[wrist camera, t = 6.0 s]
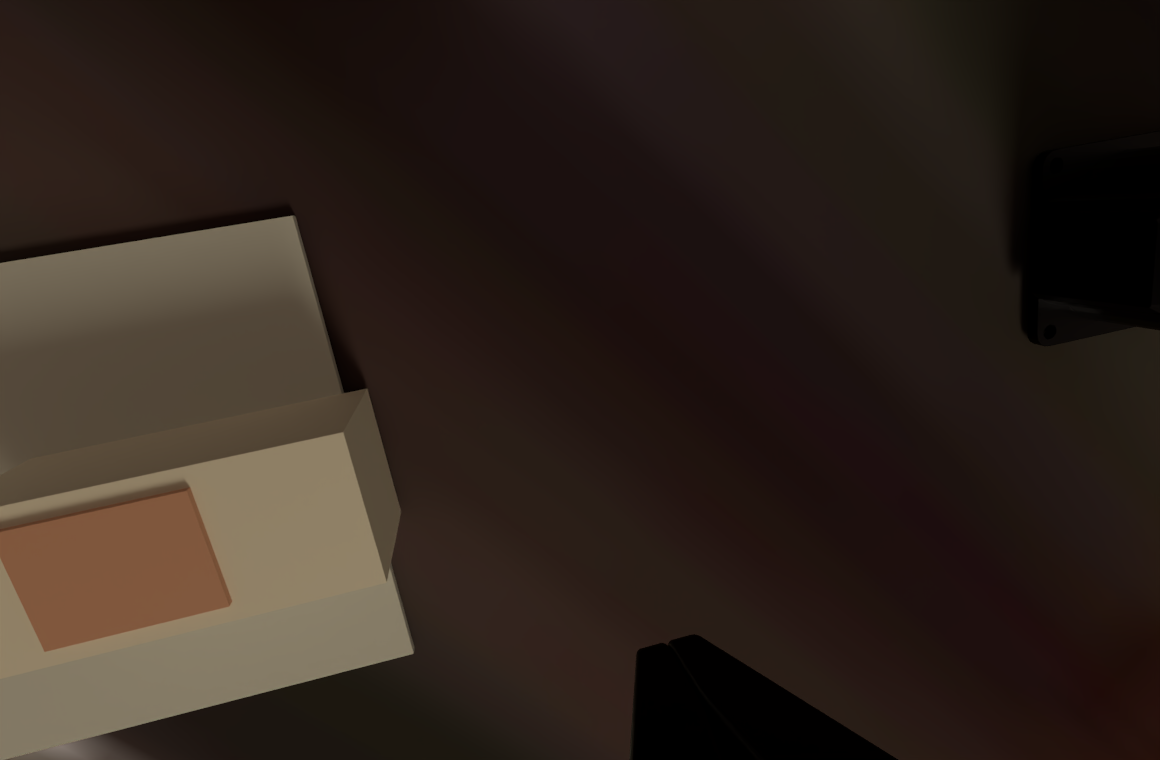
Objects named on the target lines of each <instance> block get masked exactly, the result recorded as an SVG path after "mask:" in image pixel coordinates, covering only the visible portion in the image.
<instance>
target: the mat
mask: <svg viewBox="0 0 1160 760" xmlns="http://www.w3.org/2000/svg"><path fill="white" fill-rule="evenodd" d="M343 393H344V391H343V387H342V384H341V380H340V376H339V373H338V369H337V366H336V362H335V358H334V355H333V351H332V347H331V344H330V340H329V337H328V333H327V329H326V326H325V322H324V318H323V315H322V311H321V308H320V304H319V300H318V297H317V293H316V289H315V286H314V282H313V279H312V275H311V271H310V268H309V264H308V260H307V257H306V253H305V250H304V246H303V242H302V239H301V235H300V231H299V228H298V224H297V221H296V217H295V216H287V217H281V218H275V219H269V220H263V221H256V222H250V223H244V224H238V225H232V226H226V227H219V228H213V229H207V230H201V231H195V232H189V233H182V234H176V235H170V236H164V237H158V238H152V239H145V240H139V241H133V242H127V243H121V244H115V245H109V246H102V247H96V248H90V249H84V250H78V251H72V252H65V253H59V254H53V255H47V256H41V257H35V258H28V259H22V260H16V261H10V262H4V263H0V475H2V474H3V473H5V472H7V471H9V470H11V469H12V468H14V467H16V466H18V465H20V464H21V463H23V462H25V461H27V460H29V459H31V458H36V457H40V456H45V455H50V454H55V453H60V452H64V451H69V450H74V449H79V448H84V447H88V446H93V445H98V444H103V443H108V442H112V441H117V440H122V439H127V438H132V437H136V436H141V435H146V434H151V433H156V432H160V431H165V430H170V429H175V428H180V427H184V426H189V425H194V424H199V423H204V422H208V421H213V420H218V419H223V418H228V417H232V416H237V415H242V414H247V413H252V412H256V411H261V410H266V409H271V408H276V407H280V406H285V405H290V404H295V403H300V402H304V401H309V400H314V399H319V398H324V397H328V396H333V395H338V394H343ZM410 654H414V645H413V641H412V637H411V634H410V630H409V626H408V623H407V619H406V616H405V612H404V608H403V605H402V601H401V597H400V594H399V590H398V587H397V583H396V579H395V576H394V572H393V568H392V565H391V564H390V569H389V574H388V579H387V583H383V584H379V585H375V586H371V587H367V588H363V589H359V590H355V591H351V592H347V593H343V594H339V595H335V596H331V597H327V598H323V599H319V600H315V601H311V602H307V603H303V604H299V605H295V606H291V607H287V608H283V609H279V610H275V611H271V612H267V613H263V614H259V615H255V616H251V617H247V618H243V619H239V620H235V621H231V622H227V623H223V624H219V625H215V626H211V627H207V628H203V629H199V630H195V631H191V632H187V633H183V634H179V635H175V636H171V637H167V638H163V639H159V640H155V641H151V642H147V643H143V644H139V645H135V646H131V647H127V648H123V649H119V650H115V651H111V652H107V653H103V654H99V655H95V656H91V657H87V658H83V659H79V660H74V661H70V662H66V663H62V664H58V665H54V666H50V667H46V668H42V669H38V670H34V671H30V672H26V673H22V674H18V675H14V676H10V677H6V678H2V679H0V760H5V759H9V758H12V757H16V756H20V755H24V754H28V753H32V752H36V751H40V750H43V749H47V748H51V747H55V746H59V745H63V744H67V743H70V742H74V741H78V740H82V739H86V738H90V737H94V736H97V735H101V734H105V733H109V732H113V731H117V730H121V729H124V728H128V727H132V726H136V725H140V724H144V723H148V722H151V721H155V720H159V719H163V718H167V717H171V716H175V715H178V714H182V713H186V712H190V711H194V710H198V709H202V708H206V707H209V706H213V705H217V704H221V703H225V702H229V701H233V700H236V699H240V698H244V697H248V696H252V695H256V694H260V693H263V692H267V691H271V690H275V689H279V688H283V687H287V686H290V685H294V684H298V683H302V682H306V681H310V680H314V679H317V678H321V677H325V676H329V675H333V674H337V673H341V672H345V671H348V670H352V669H356V668H360V667H364V666H368V665H372V664H375V663H379V662H383V661H387V660H391V659H395V658H399V657H402V656H406V655H410Z"/></svg>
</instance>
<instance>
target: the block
mask: <svg viewBox="0 0 1160 760" xmlns="http://www.w3.org/2000/svg"><path fill="white" fill-rule="evenodd" d="M400 514H401V510H400V506H399V503H398V499H397V495H396V492H395V488H394V484H393V481H392V477H391V473H390V470H389V466H388V462H387V459H386V455H385V451H384V448H383V444H382V440H381V437H380V433H379V429H378V426H377V422H376V419H375V415H374V411H373V408H372V404H371V400H370V397H369V393H368V389H362V390H357V391H352V392H348V393H343V394H338V395H333V396H328V397H324V398H319V399H314V400H309V401H304V402H300V403H295V404H290V405H285V406H280V407H276V408H271V409H266V410H261V411H256V412H252V413H247V414H242V415H237V416H232V417H228V418H223V419H218V420H213V421H208V422H204V423H199V424H194V425H189V426H184V427H180V428H175V429H170V430H165V431H160V432H156V433H151V434H146V435H141V436H136V437H132V438H127V439H122V440H117V441H112V442H108V443H103V444H98V445H93V446H88V447H84V448H79V449H74V450H69V451H64V452H60V453H55V454H50V455H45V456H40V457H36V458H31V459H29V460H27V461H25V462H23V463H21V464H20V465H18V466H16V467H14V468H12V469H11V470H9V471H7V472H5V473H3V474H2V475H0V679H2V678H6V677H10V676H14V675H18V674H22V673H26V672H30V671H34V670H38V669H42V668H46V667H50V666H54V665H58V664H62V663H66V662H70V661H74V660H79V659H83V658H87V657H91V656H95V655H99V654H103V653H107V652H111V651H115V650H119V649H123V648H127V647H131V646H135V645H139V644H143V643H147V642H151V641H155V640H159V639H163V638H167V637H171V636H175V635H179V634H183V633H187V632H191V631H195V630H199V629H203V628H207V627H211V626H215V625H219V624H223V623H227V622H231V621H235V620H239V619H243V618H247V617H251V616H255V615H259V614H263V613H267V612H271V611H275V610H279V609H283V608H287V607H291V606H295V605H299V604H303V603H307V602H311V601H315V600H319V599H323V598H327V597H331V596H335V595H339V594H343V593H347V592H351V591H355V590H359V589H363V588H367V587H371V586H375V585H379V584H383V583H387V579H388V574H389V569H390V564H391V559H392V554H393V549H394V544H395V539H396V534H397V529H398V524H399V519H400Z"/></svg>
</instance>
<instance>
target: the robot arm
mask: <svg viewBox="0 0 1160 760" xmlns="http://www.w3.org/2000/svg"><path fill="white" fill-rule="evenodd" d="M1051 161H1052V169H1051V171H1050V163H1051ZM1132 327H1142V328H1148V329H1155V330H1160V131H1156V132H1150V133H1144V134H1139V135H1133V136H1127V137H1122V138H1116V139H1110V140H1105V141H1099V142H1093V143H1087V144H1082V145H1076V146H1070V147H1065V148H1059V149H1053V150H1048V151H1044V152H1042V153H1040V154H1039V155H1038V156H1037V157H1036V159H1035V161H1034V163H1033V167H1032V191H1031V225H1030V260H1029V294H1028V329H1027V334H1028V338H1029V340H1030V341H1031V342H1032V343H1034V344H1038V345H1042V346H1052V345H1056V344H1061V343H1065V342H1069V341H1074V340H1078V339H1083V338H1087V337H1092V336H1096V335H1101V334H1105V333H1110V332H1114V331H1119V330H1123V329H1127V328H1132ZM1045 328H1046V332H1045V334H1043V333H1044V329H1045ZM630 760H898V759H896V758H895V757H893V756H891V755H890V754H888V753H887V752H885V751H883V750H882V749H880V748H879V747H877V746H875V745H874V744H872V743H870V742H869V741H867V740H866V739H864V738H862V737H861V736H859V735H858V734H856V733H854V732H853V731H851V730H850V729H848V728H846V727H845V726H843V725H842V724H840V723H838V722H837V721H835V720H834V719H832V718H830V717H829V716H827V715H826V714H824V713H822V712H821V711H819V710H818V709H816V708H814V707H813V706H811V705H810V704H808V703H806V702H805V701H803V700H802V699H800V698H798V697H797V696H795V695H793V694H792V693H790V692H789V691H787V690H785V689H784V688H782V687H781V686H779V685H777V684H776V683H774V682H773V681H771V680H769V679H768V678H766V677H765V676H763V675H761V674H760V673H758V672H757V671H755V670H753V669H752V668H750V667H749V666H747V665H745V664H744V663H742V662H741V661H739V660H737V659H736V658H734V657H733V656H731V655H729V654H728V653H726V652H725V651H723V650H721V649H720V648H718V647H716V646H715V645H713V644H712V643H710V642H708V641H707V640H705V639H704V638H702V637H700V636H698V635H695V634H694V635H689V636H685V637H681V638H678V639H674V640H671V641H670V642H669V643H668V646H667V645H666V644H664V643H659V644H656V645H652V646H649V647H645V648H641V649H639V650H638V651H637V654H636V669H635V684H634V699H633V714H632V729H631V745H630Z"/></svg>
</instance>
